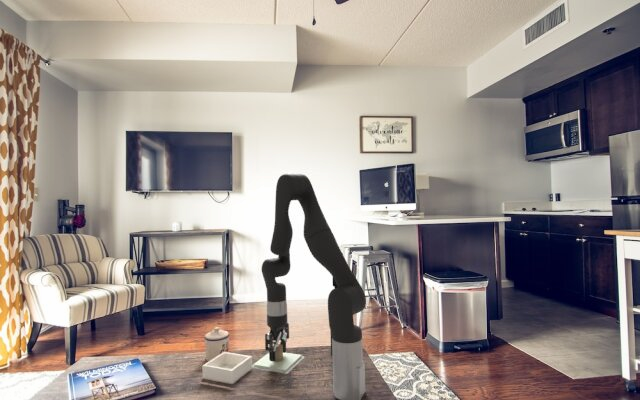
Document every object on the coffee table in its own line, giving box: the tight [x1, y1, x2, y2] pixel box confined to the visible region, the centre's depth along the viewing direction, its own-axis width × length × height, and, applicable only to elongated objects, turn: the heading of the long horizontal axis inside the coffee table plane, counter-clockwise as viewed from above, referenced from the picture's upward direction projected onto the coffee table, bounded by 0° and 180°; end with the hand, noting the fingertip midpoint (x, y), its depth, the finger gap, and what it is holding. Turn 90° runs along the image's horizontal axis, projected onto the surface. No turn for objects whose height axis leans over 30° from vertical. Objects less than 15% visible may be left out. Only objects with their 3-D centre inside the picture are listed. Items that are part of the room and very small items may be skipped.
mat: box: [252, 355, 306, 375], centre depth 138 cm, size 15×15×1 cm
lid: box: [253, 343, 303, 372], centre depth 138 cm, size 13×13×6 cm
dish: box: [201, 351, 254, 385], centre depth 129 cm, size 12×12×5 cm
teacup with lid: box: [204, 326, 230, 362], centre depth 145 cm, size 12×9×12 cm
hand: (278, 356), depth 138 cm, fingers open, 7 cm apart
